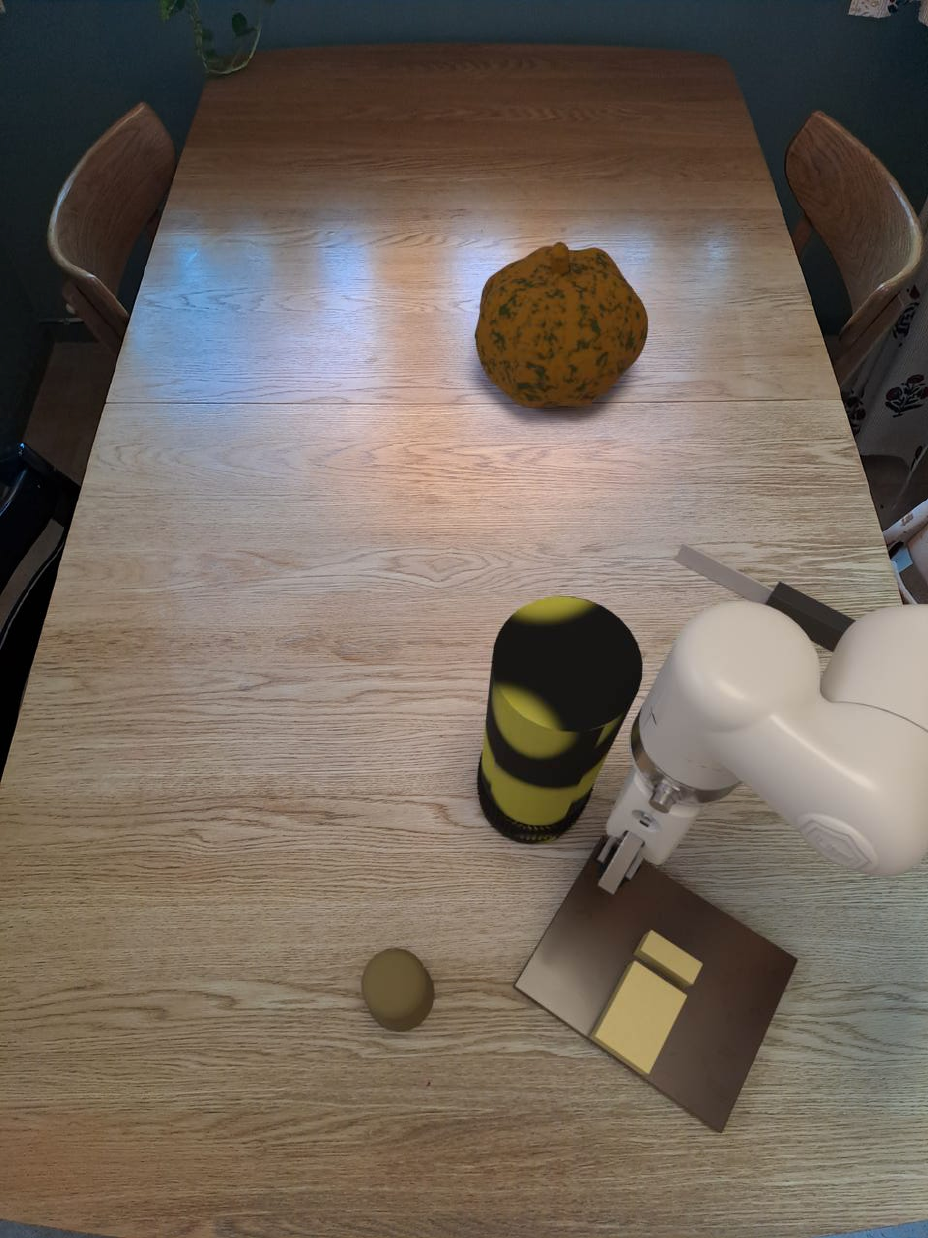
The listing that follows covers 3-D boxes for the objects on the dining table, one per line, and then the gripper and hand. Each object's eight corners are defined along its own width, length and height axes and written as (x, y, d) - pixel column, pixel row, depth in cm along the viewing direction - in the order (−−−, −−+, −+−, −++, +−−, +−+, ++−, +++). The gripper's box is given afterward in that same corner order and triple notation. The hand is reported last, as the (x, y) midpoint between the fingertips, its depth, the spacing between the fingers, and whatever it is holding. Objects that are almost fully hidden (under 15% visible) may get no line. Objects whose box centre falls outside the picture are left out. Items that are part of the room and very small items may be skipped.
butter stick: (678, 999, 73) (687, 995, 70) (640, 1075, 70) (648, 1074, 67) (627, 964, 74) (634, 960, 72) (589, 1038, 71) (594, 1036, 69)
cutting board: (792, 961, 76) (798, 959, 75) (716, 1133, 70) (721, 1134, 68) (600, 838, 81) (602, 834, 80) (512, 987, 75) (514, 986, 73)
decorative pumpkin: (643, 435, 105) (664, 299, 88) (475, 435, 107) (464, 302, 90) (636, 327, 115) (654, 187, 98) (484, 329, 117) (476, 191, 100)
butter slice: (693, 968, 74) (703, 963, 71) (683, 988, 73) (693, 984, 71) (643, 935, 76) (651, 929, 73) (633, 954, 75) (640, 949, 72)
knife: (842, 638, 92) (858, 621, 89) (835, 653, 91) (850, 636, 88) (679, 553, 97) (688, 533, 94) (671, 566, 96) (679, 547, 93)
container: (590, 752, 85) (652, 606, 59) (577, 857, 80) (640, 749, 54) (485, 733, 86) (501, 581, 60) (466, 836, 81) (475, 719, 55)
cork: (375, 1041, 72) (363, 1035, 63) (359, 969, 75) (346, 952, 66) (442, 1019, 73) (441, 1010, 64) (424, 949, 76) (420, 929, 66)
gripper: (689, 894, 48) (632, 939, 63) (800, 665, 55) (725, 754, 70) (574, 824, 50) (545, 883, 65) (696, 611, 57) (645, 709, 72)
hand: (639, 816), depth 67 cm, fingers open, 9 cm apart
